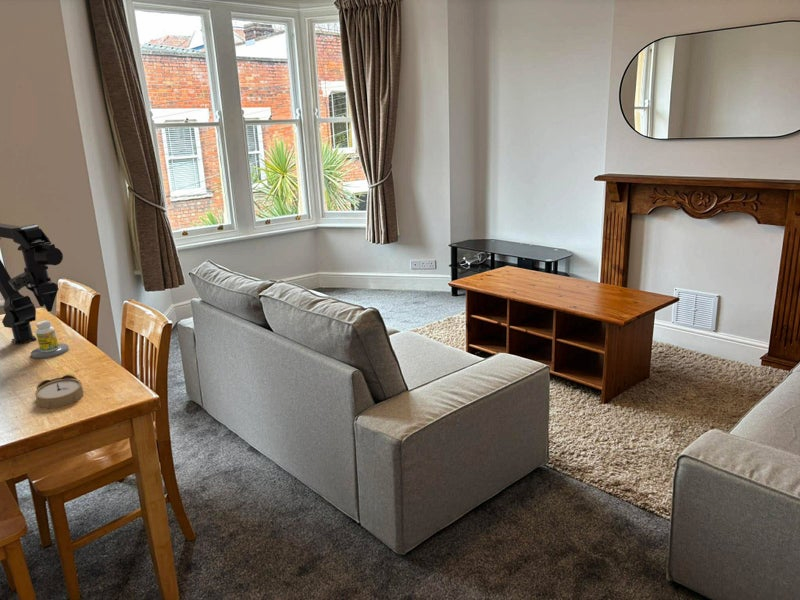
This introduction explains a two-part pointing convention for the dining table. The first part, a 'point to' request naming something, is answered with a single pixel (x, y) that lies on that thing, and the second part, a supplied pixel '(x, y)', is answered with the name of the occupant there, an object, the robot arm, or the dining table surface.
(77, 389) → the alarm clock
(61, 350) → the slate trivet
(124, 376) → the dining table surface
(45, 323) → the supplement bottle
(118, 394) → the dining table surface
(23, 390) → the dining table surface
